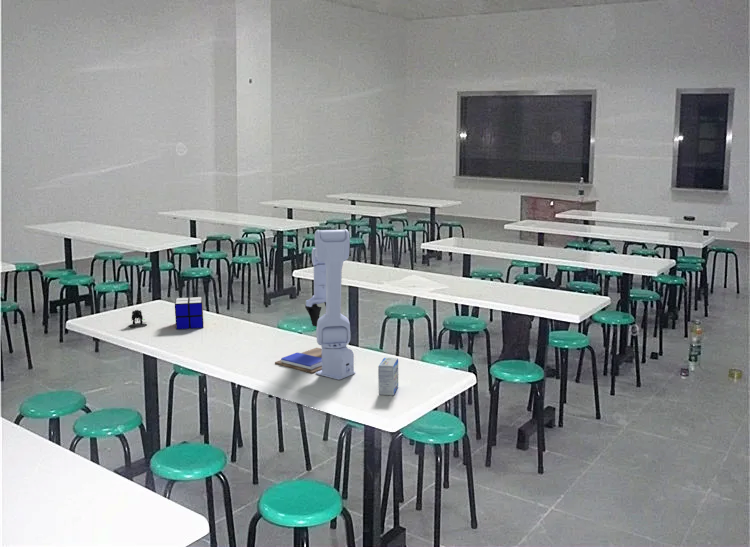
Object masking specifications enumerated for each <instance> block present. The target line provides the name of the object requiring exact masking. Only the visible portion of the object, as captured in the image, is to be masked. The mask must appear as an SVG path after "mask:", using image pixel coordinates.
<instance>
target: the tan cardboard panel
mask: <svg viewBox="0 0 750 547" xmlns="http://www.w3.org/2000/svg"><path fill="white" fill-rule="evenodd" d="M301 353H302V354H307V355H311V356H315V357H320V358H322V347H321V348H320V347H315V348H312V349H311V348H310V349H308V350H306V351H303V352H301ZM274 364H275V365H279V366H282V367H286V368H290V369H293V370H294V369H295V370H297V371H301V372H305V373H309V374H316V372H318V371H321V370H322V366H320V367H317V368H315V369H312V370H311V369H307V368H303V367H298V366H294V365H290V364H286V363H282V362H281V359H280V360H277V361H275V362H274Z"/></svg>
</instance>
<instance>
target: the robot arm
mask: <svg viewBox="0 0 750 547" xmlns="http://www.w3.org/2000/svg"><path fill="white" fill-rule="evenodd" d="M350 237H351V236H350V232H349V230H348V229H347V228H344V229H316V231H315V232H314V247H312V250H311V262H312V266H313V295H312V296H311V298H309V299H306V300H305V309H306V311H307V313H308V315H309V318H310V321H311V325H312V327H316V331H315V334H316V336H315V337H316V342H317V344H318V345H319V346H320V347H321V349H322V370H321V371H318V372H316V373H315V375H319V376H322V377H326V378H331V379H334V380H338V381H340V380H343V379H346V378H347V377H351V376H352V375H354V374H356V371H355V370H354V369H355V367H354V364H355V363H354V362H355V361H354V357H355V356H354V352H353V350H352V349H351V348H348V345H347V344H349V343H350V342H351V338H352V337H351V323H350V320H349V318H348V317H347V316H346V315H344V314H342V308H341V307H342V278H343V277H342V273H343V272H342V271H343V270H342V269H343V266H344V262H345V261H347V260H348V259H349V258H350V256H349V255H350V252H351V251H350V245H351V244H350V243H351V242H350V240H351V239H350ZM320 304H324V306H325V313H323V314H322V315H321V311H322V308H323V307H322V306H318V305H320ZM320 315H321V316H320Z"/></svg>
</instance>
